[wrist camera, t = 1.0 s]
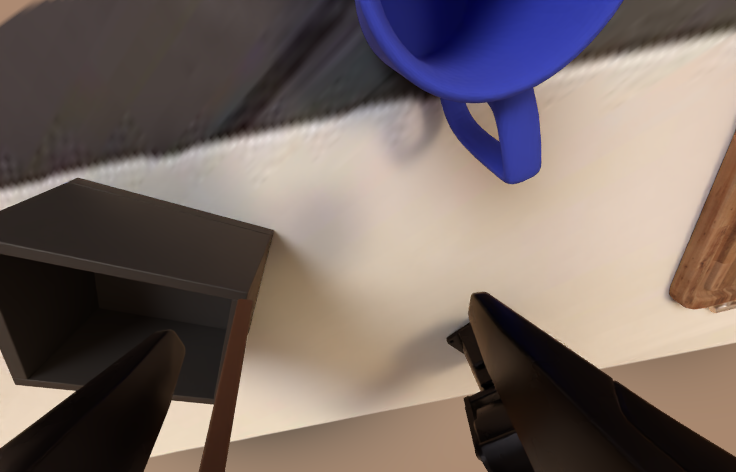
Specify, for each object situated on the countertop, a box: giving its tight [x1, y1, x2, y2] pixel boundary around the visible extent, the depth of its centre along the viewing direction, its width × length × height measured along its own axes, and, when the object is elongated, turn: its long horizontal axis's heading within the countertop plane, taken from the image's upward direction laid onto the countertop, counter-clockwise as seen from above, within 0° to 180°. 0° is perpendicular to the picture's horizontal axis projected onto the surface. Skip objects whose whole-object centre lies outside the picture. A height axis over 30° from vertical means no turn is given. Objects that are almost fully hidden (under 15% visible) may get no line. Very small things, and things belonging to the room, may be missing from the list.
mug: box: [355, 0, 623, 184], centre depth 12 cm, size 8×12×10 cm
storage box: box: [0, 178, 274, 404], centre depth 20 cm, size 13×13×7 cm
